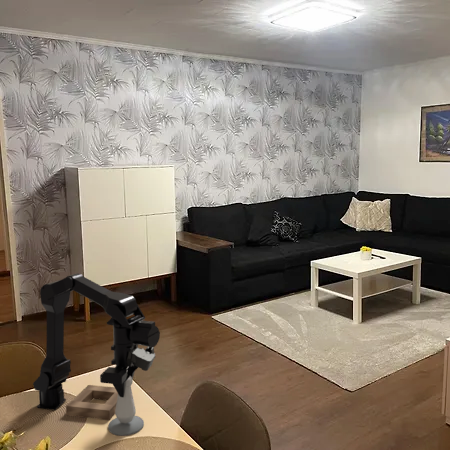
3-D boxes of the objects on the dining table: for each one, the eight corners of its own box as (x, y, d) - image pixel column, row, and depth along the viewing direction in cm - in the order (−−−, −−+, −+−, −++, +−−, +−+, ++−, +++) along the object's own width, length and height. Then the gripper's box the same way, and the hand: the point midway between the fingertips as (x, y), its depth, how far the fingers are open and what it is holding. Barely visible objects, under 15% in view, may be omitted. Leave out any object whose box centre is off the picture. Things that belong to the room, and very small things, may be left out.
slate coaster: (102, 433, 130) (102, 431, 130) (117, 415, 140) (117, 413, 140) (135, 437, 129) (135, 435, 128) (148, 418, 138) (148, 416, 138)
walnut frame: (66, 415, 140) (65, 405, 140) (88, 393, 154) (88, 384, 153) (109, 420, 137) (109, 410, 137) (128, 397, 151) (128, 388, 151)
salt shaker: (131, 426, 131) (130, 382, 129) (112, 424, 132) (110, 380, 130) (139, 415, 137) (138, 373, 135) (120, 413, 138) (119, 371, 136)
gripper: (138, 356, 121) (139, 413, 123) (162, 331, 139) (162, 381, 141) (98, 352, 123) (100, 408, 125) (127, 329, 141) (127, 378, 143)
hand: (125, 393), depth 133 cm, fingers closed on salt shaker, 4 cm apart
